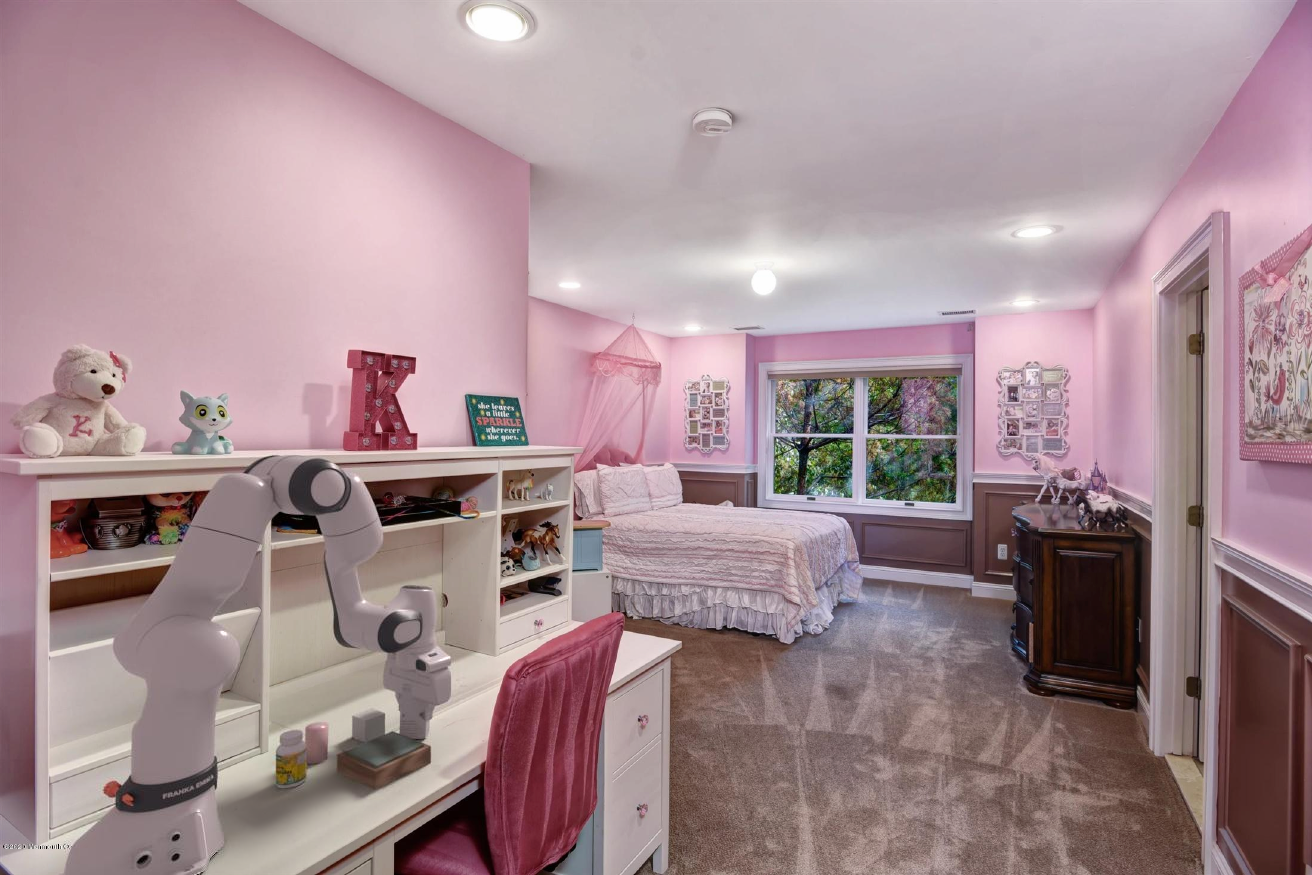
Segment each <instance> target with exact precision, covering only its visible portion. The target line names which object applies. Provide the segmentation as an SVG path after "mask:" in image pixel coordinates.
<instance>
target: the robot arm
mask: <svg viewBox="0 0 1312 875" xmlns="http://www.w3.org/2000/svg"><path fill="white" fill-rule="evenodd" d="M279 512H281V513H284V514H288V515H306V516H312V517H313V516H315V517H316V519H317V522H318V524H319V525H318V526H319V528H320V531H321V534H322V537H323V540H324V541H323V542H324V545H325V546H324V547H325V549H324V553H323V567H324V573H325V577H326V582H327V587H328V591H329V595H330V599H331V604H332V611H333V624H332V625H333V626H332V627H333V635H334V638H335V640H336V642H337V643H338V644H339V645H341V646H342V647H344V648H346V649H347V648H348V649H357V650H359V649H362V650H366V651H371V652H379V653H384V654H386V660H385V663H384V667H383V676H382V685H383V687H384V689H385V690H388V691H390V692H394V694H395V695H394V696H395V699H396V701H397V704H398V712H400V706H401V687H402V685H403V684H407V685H410V686H411V696H412V698H415V699H418V700H421V701H424V702H425V706H427V707H426V710H425V711H424V712H422V719H423V720H426V721H429V720H430V721H431V720H432V719H433V712H434V710H435V708H436V707H438V706H441V705H443V704H445V703H448V702H449V700H450V699H451V697H452V674H451V671H450V670H451V669H450V668H449V667H450V666H451V665H452V656H450V655H449V654H448V653H446V652H445V651H444V650H443V649H442V648H441V647H440V646H439V645H437V636H436V625H437V621H438V619H437V618H438V609H437V608H438V606H437V597H436V594H435V591H434V589H433V588H432V587H429V586H425V585H414V584H408V585H407V584H406V585H402V586H401V587H400V589H399V591H398V593H397V595H396V596H395V597H394V598H393V599H392V600H391V601H390V602H388V603H386V604H384V605H381V604H380V605H378V604H373V603H371V602H369V601H368V600H366V599H365V598H364V597H363V594H362V589H361V586H360V580H359V575H358V574H359V573H358V566H359V565H361V564H363V563H365V562H366V561H368V560H370V559H371V558H373V557H374V556H375V555H376V554H377V552H378V551H379V550H380V548H381V547H382V545H383V541H384V533H383V526H382V523H381V520H380V516H379V513H378V511H377V507H376V506H375V503H374V501H373V497H372V496H371V494H370V491H369V489H368V488H367V486H366V484H365V483H364V480H363V479H362V478H361V477H360V475H358V474H356V473H354V472H351V471H345V470H344V469H342V468H341V467H340V466H339V465H337V464H336V463H334V462H333V461H330V460H328V459H324V458H320V457H319V458H318V457H315V458H313V457H306V456H303V455H299V454H293V455H292V454H291V455H290V454H288V455H287V454H286V455H279V454H275V455H274V454H273V455H268V456H264V457H261V458H258V459H257V460H255V461H254V462H252V463H251V464H250V465H249V466H247V467H246V469H245V470H244V471H243V472H239V473H238V472H237V473H230V474H229V473H228V474H225V475H223V476H221V477H220V478H219V479H218V480H217V481H216V482H215V483H214V485H213V486H212V487H211V489H210V490H209V492H208V493H207V494H206V496H205V497H204V499H203V501H202V502H201V504H200V506H199V507H198V509H197V511H196V513H195V515H194V517H193V519H192V521H191V522H190V525H189V526H188V529H187V531H186V534H185V536H184V537H183V540H182V542H181V544H180V546H179V548H178V550H177V552H176V554H175V556H174V559H173V561H172V563H171V565H170V567H169V568H168V570H167V572H166V574H165V575H164V577H163V578H162V580H160V583H159V584H158V585H157V587H156V588H155V589H154V590H153V592H152V593H151V595H150V596H149V597H148V598H147V600H145V603H143V605H142V607H141V608H140V609H139V610H138V611H137V613H135V614H134V615H133V616H132V617H129V618H128V619H127V620H126V621H125V622H124V623H122V624H121V626H120V627H119V628H118V630H117V631H116V633H115V636H114V638H113V642H112V651H113V653H114V657H116V659H117V661H118V663H119V664H120V665H121V667H123V669H124V670H125V671H127V672H128V673H130V674H131V675H133V676H136V677H138V678H141V679H143V680H144V681H145V683H146V690H147V691H146V697H145V702H144V706H143V708H142V711H141V714H140V717H139V718H138V719H137V720H136V722H135V723H134V724H133V726H132V730H131V748H130V749H131V752H130V753H131V756H130V760H131V761H130V765H131V766H130V775H129V776H128V778H127V779H126V780H125V782H124V783H123V784H121V783H119V782H118V781H117V780H111V781H109V782H107V783H106V784H105V786H103V789H102V792H103V794H104V795H105V796H107V797H108V798H112V799H113V798H115V802H114V803H115V804H114V806H113V807H111V809H110V810H109V811H108V812H107V813H106V814H105V815H103V816H102V817H101V818H99V820H97V821H96V823H95V824H93V825H92V826H91V827H90V828H89V829H88V830H87V831H86V832H84V834H82V835H81V836H80V837H78V839H76V841H74V843H73V844H72V846H71V847H70V849H69V852H68V855H67V859H66V861H65V867H64V872H62V873H60V874H59V875H194V874H197V873H198V872H201V871H203V870H204V869H205V868H206V866H207V864H208V865H209V863H210V861H211V860H210V858H211V857H212V856H213V855H214V854H215V853H216V852H219V851H220V850H221V849H222V848H221V847H224V845H225V842H224V841H226V836H225V834H224V831H223V828H222V825H221V821H220V816H219V813H218V812H219V811H218V807H217V806H218V805H217V798H216V797H217V796H216V790H217V788H218V779H219V778H218V777H219V769H218V757H217V756H216V755H215V745H216V744H215V738H216V737H215V736H216V715H217V710H218V704H219V701H220V697H221V693H222V690H223V687H224V685H225V683H226V682H227V681H228V680H229V679H230V678H231V677H232V675H234V673H235V671H236V669H237V668H238V665H239V663H240V658H241V648H240V644H239V641H238V640H237V638H235V636H234V635H232V633H230V632H229V630H227V629H226V628H225V627H224V626H222V625H220V624H219V623H217V622H215V621H212V620H213V618H214V617H215V615H216V614H217V613H218V611H219V610H220V609H221V607H222V606H223V605H224V603H225V602H226V601H227V600H229V598H230V597H231V596H232V595H234V594H236V593H237V592H239V590H240V589H242V587H243V585H244V584H245V581H246V580H247V577H248V574H249V572H250V570H251V568H252V565H253V562H254V560H255V558H256V554H257V552H258V550H259V547H260V545H261V543H262V540H263V538H264V536H265V532H266V530H267V527H268V525H269V523H270V521H271V520H272V519H273V518H274V517H275V516H276V515H277V514H278V513H279ZM218 850H219V851H218ZM215 855H216V854H215ZM215 855H214V856H215ZM214 856H213V857H214ZM213 857H212V858H213ZM212 858H211V859H212ZM209 860H210V861H209ZM208 862H209V863H208ZM207 867H208V866H207ZM206 869H207V868H206ZM187 871H188V872H187Z"/></svg>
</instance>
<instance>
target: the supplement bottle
mask: <svg viewBox="0 0 1312 875" xmlns="http://www.w3.org/2000/svg"><path fill="white" fill-rule="evenodd" d="M303 738H304V736H303V731H302V730H301V729H292V730H287V731H285V732H282V733H281V734H280V735H279V746H277V747H276V750H275V786H276V787H277V788H279V789H290V788H291V789H292V788H295V787H297V786H300V785H301V784H303V783H304V782H306V779H307V769H308V768H307V765H308V764H307V746H306V743H305V740H303Z"/></svg>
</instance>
